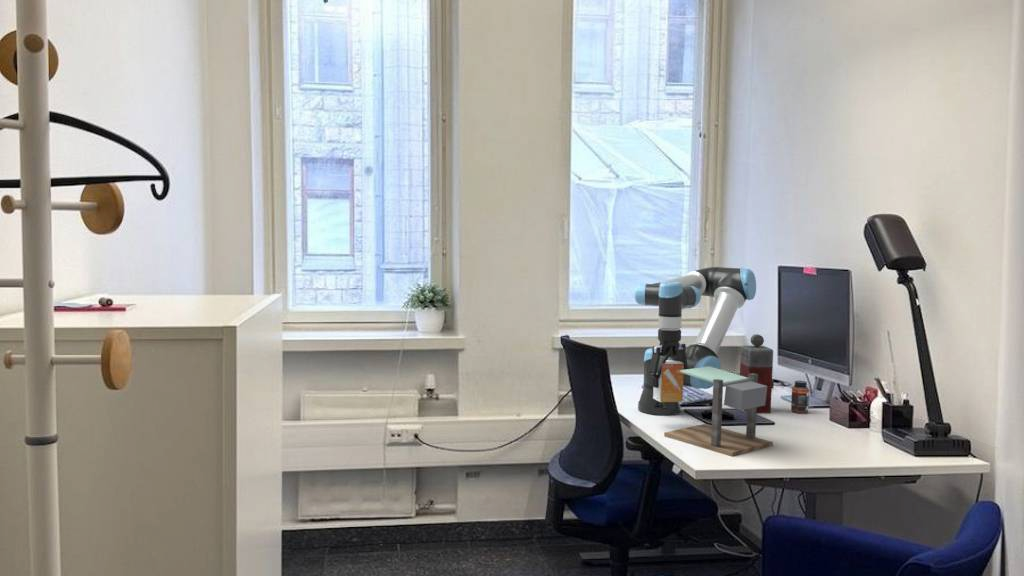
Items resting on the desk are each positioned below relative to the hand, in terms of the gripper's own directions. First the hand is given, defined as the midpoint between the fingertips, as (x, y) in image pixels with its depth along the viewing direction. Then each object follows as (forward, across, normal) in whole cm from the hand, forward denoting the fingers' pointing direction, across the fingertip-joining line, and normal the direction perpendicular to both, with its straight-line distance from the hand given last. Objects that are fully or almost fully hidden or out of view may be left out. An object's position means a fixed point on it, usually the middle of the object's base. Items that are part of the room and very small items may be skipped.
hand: (668, 395), depth 255 cm
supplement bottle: (+11, -56, +13) cm, 59 cm away
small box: (+2, 0, 0) cm, 2 cm away
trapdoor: (-3, 0, +22) cm, 22 cm away
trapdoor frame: (+10, 0, +21) cm, 24 cm away
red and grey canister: (+11, -46, +1) cm, 47 cm away
